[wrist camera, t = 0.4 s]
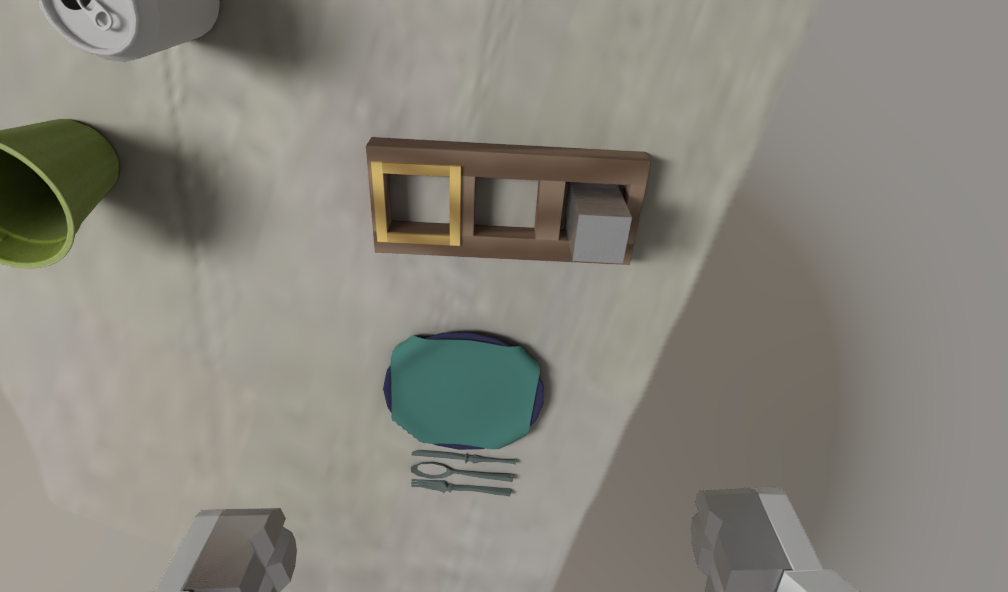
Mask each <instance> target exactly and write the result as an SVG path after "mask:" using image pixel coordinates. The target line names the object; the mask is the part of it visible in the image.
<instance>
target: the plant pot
mask: <svg viewBox="0 0 1008 592" xmlns="http://www.w3.org/2000/svg"><path fill="white" fill-rule="evenodd" d="M118 176H119V160H118V157H117V155H116V153H115V151H114V149H113V148H112V146H111V145H110V144H109V142H108V141H107V140H106V139H105V138H104V137H103V136H102V135H101V134H99V133H98V132H97V131H96V130H94V129H93V128H91V127H89V126H86V125H83V124H80V123H78V122H75V121H73V120H69V119H58V120H52V121H46V122H41V123H36V124H31V125H26V126H21V127H16V128H10V129H5V130H0V264H3V265H7V266H11V267H17V268H41V267H46V266H50V265H52V264H54V263H56V262H58V261H60V260H61V259H62V258H63V257H65V256H66V254H67V253H68V252H69V250H70V249H71V247H72V244H73V242H74V237H75V234H76V233H77V231H78V230H79V228H80V225H81V223H82V222H83V221H84V219H85V218H86V217H87V216H88V215H89V214H90V213H91V211H92V210H93V209H94V208H95V207H96V205H97V204H98V203H99V202H100V201H101V200H102V198H103V197H104V196H105V195H106V194H107V193H108V192H109V190H110V189H111V188H112V187H113V186H114V184H115V183H116V182H117V180H118Z"/></svg>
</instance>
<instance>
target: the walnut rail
mask: <svg viewBox="0 0 1008 592" xmlns="http://www.w3.org/2000/svg"><path fill="white" fill-rule="evenodd" d="M366 152H367V164H368V176H369V188H370V199H371V211H372V223H373V235H374V247H375V252H376V253H397V254H417V255H438V256H458V257H479V258H499V259H520V260H541V261H561V262H582V263H602V264H623V265H630V260H631V256H632V251H633V246H634V241H635V236H636V231H637V226H638V222H639V217H640V212H641V207H642V202H643V197H644V193H645V188H646V183H647V178H648V173H649V168H650V163H651V160H650V159H649V157H648V156H647V154H646V152H635V151H617V150H598V149H580V148H561V147H543V146H524V145H506V144H487V143H469V142H451V141H432V140H414V139H395V138H377V137H371V139H370V140H369V142H368V143H367V145H366ZM389 174H407V175H426V176H445V177H450V224H445V223H425V222H405V221H392V217H391V201H390V186H389ZM476 177H487V178H506V179H525V180H539V183H538V194H537V205H536V215H535V226H534V228H524V227H504V226H484V225H474V222H475V185H476ZM565 182H582V183H601V184H620V185H624V191H623V198H624V200H625V203H626V205H627V207H628V210H629V212H630V214H631V217H632V220H631V225H630V230H629V235H628V240H627V245H626V250H625V255H624V260H623V263H603V262H583V261H572V256H571V251H570V245H569V240H568V235H567V230H564V229H560V223H561V214H562V206H563V198H564V190H565Z"/></svg>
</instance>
